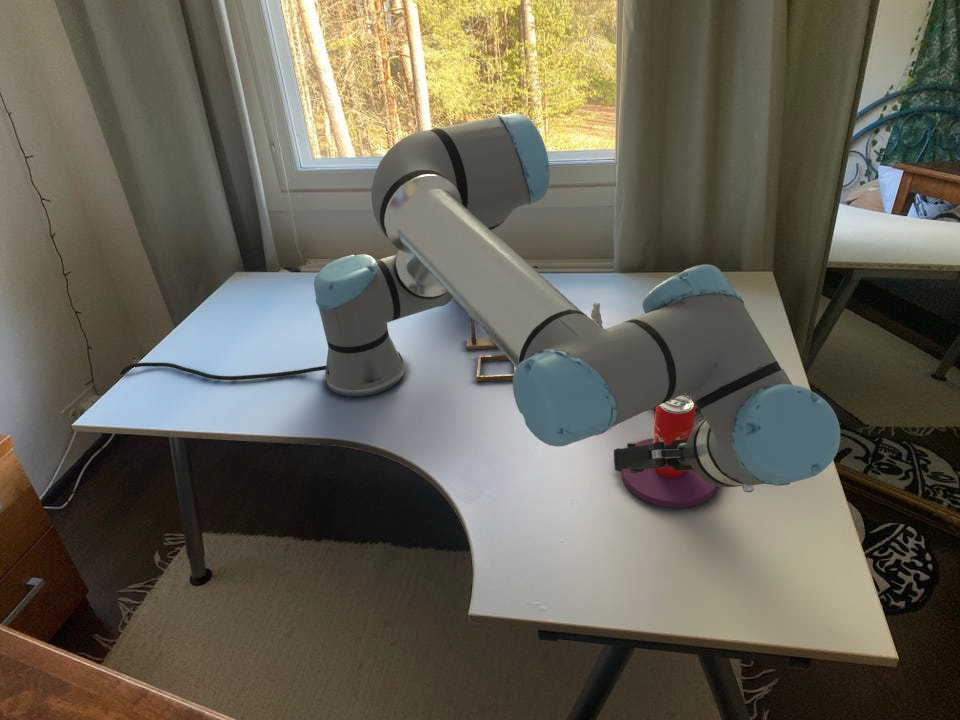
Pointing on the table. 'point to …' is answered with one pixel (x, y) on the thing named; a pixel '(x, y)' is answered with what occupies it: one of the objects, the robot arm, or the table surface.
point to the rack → (485, 344)
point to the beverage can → (673, 426)
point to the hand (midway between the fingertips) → (684, 461)
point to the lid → (668, 486)
